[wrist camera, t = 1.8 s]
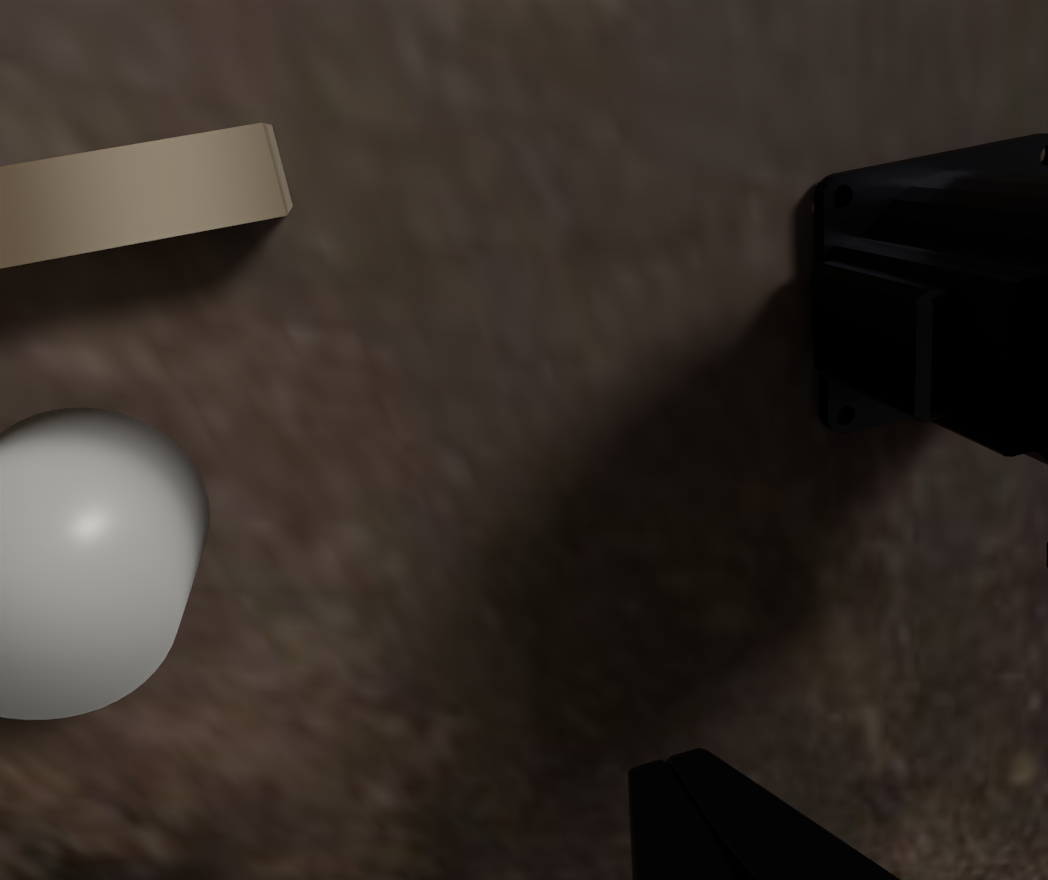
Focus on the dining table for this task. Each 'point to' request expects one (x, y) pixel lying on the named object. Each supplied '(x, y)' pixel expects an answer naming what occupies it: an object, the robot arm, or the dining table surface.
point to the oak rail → (140, 193)
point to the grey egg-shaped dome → (91, 558)
